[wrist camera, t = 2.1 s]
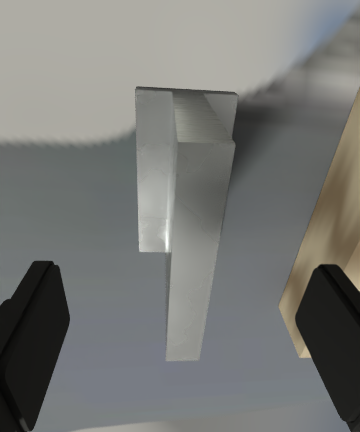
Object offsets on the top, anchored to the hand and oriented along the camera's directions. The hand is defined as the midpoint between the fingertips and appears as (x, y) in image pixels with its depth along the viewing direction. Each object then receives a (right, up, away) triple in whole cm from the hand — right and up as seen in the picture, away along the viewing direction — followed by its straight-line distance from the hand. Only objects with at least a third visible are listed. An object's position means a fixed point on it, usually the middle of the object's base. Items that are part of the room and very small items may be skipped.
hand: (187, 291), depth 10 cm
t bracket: (0, +5, +7) cm, 8 cm away
